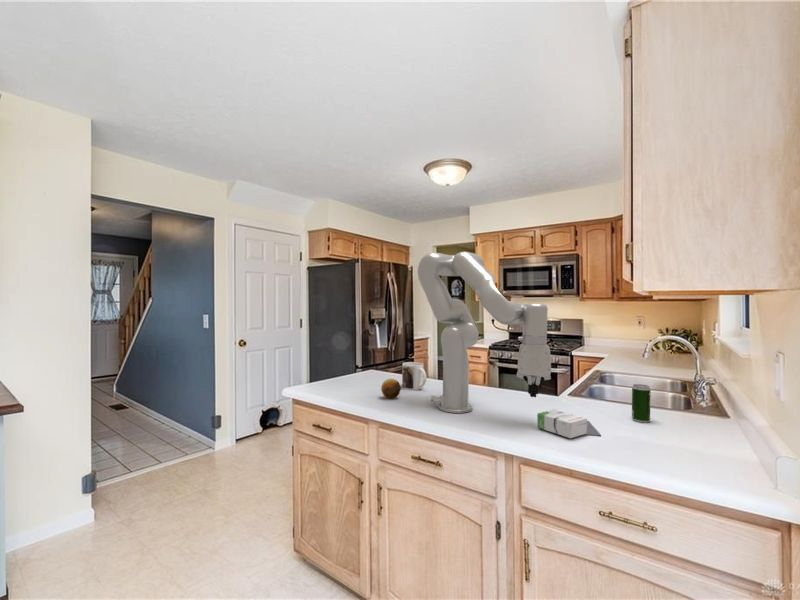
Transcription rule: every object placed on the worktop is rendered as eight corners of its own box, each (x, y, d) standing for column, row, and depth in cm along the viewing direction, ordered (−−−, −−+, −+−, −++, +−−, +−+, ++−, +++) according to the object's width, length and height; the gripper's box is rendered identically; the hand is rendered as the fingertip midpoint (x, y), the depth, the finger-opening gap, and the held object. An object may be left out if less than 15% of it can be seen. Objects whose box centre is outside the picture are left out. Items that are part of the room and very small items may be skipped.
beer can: (635, 422, 130) (635, 387, 130) (629, 417, 136) (629, 383, 136) (653, 423, 129) (653, 387, 129) (646, 418, 134) (646, 384, 134)
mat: (555, 432, 119) (555, 431, 119) (548, 419, 133) (548, 418, 133) (601, 436, 117) (601, 435, 117) (588, 422, 130) (588, 421, 130)
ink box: (536, 428, 123) (570, 439, 113) (537, 412, 123) (570, 422, 113) (554, 423, 127) (588, 434, 117) (554, 408, 127) (588, 418, 117)
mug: (423, 385, 184) (423, 362, 184) (426, 391, 172) (427, 366, 172) (401, 385, 183) (401, 362, 183) (403, 391, 171) (403, 366, 171)
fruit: (404, 398, 159) (404, 378, 159) (389, 401, 153) (390, 381, 153) (391, 394, 165) (391, 376, 165) (377, 398, 159) (377, 378, 159)
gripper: (511, 341, 125) (510, 397, 125) (560, 343, 122) (559, 401, 122) (510, 338, 133) (508, 391, 133) (556, 340, 130) (554, 395, 130)
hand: (532, 396), depth 128 cm, fingers closed
